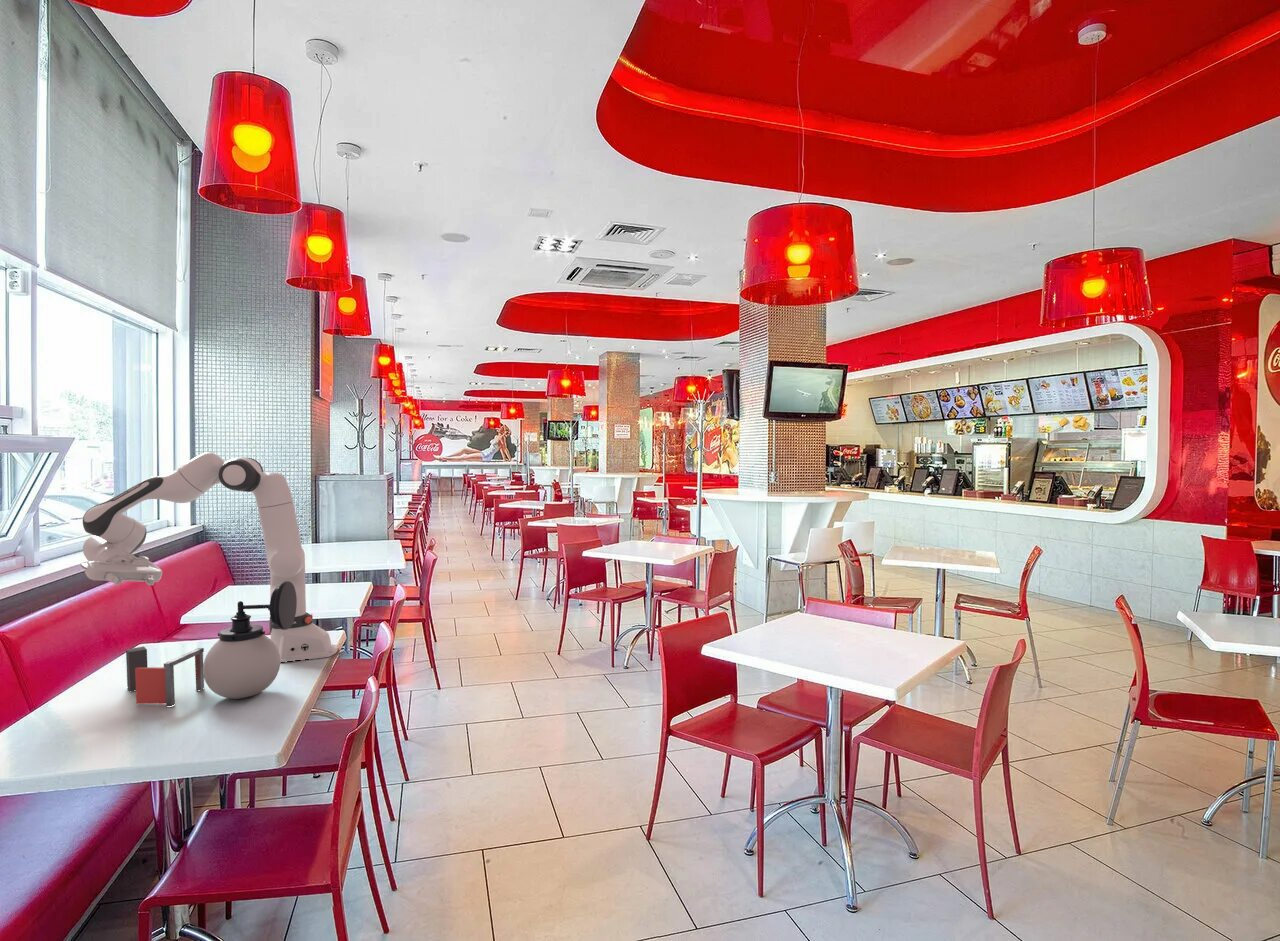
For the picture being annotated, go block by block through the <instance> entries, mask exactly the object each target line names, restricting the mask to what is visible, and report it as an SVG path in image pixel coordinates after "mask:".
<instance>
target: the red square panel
mask: <svg viewBox="0 0 1280 941" xmlns="http://www.w3.org/2000/svg"><path fill="white" fill-rule="evenodd" d="M135 679H136V691H135V700H136V704H137V705H138V704H140V705H141V704H143V705H145V704H146V705H147V704H152V705H155V704H159V705H160V704H163V705H164V704H166V690H165V668H164V666H162V667H161V666H160V667H158V666H157V667H156V666H155V667H154V666H153V667H152V666H151V667H148V666H147V667H138V668H135Z"/></svg>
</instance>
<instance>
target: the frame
mask: <svg viewBox="0 0 1280 941" xmlns="http://www.w3.org/2000/svg"><path fill="white" fill-rule="evenodd" d="M204 652H205V648H204V647H197V648H195V649H193V650H191V651H188V652H187V653H184V654H182V655H180V656H178V657H175V658H173V659H170V660H169V661H166V662H165V663H163V667H164V668H165V690H166V703H165V707H166V706H172V705H174V704H175V705H176V703H175V700H176V699H175V698H176V697H175V694H176V693H175V672H174V666H176V665H178V664H181V663H184V662H185V661H187V660H189V659H191V658H193V657H194V668H195V669H194V670H195V691H196V690H202V689H203V688H204V689H205V679H204V675H203V664H204ZM202 691H203V690H202Z"/></svg>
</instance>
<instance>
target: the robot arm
mask: <svg viewBox="0 0 1280 941" xmlns="http://www.w3.org/2000/svg"><path fill="white" fill-rule="evenodd" d="M219 483H221V485H222V486H224V487H225V488H226V489H228V490H231V491H234V492H235V491H237V492H246V493H252V494H253V495H254V498H255V501H256V506H257V510H258V516H259V520H260V525H261V529H262V537H263V542H264V548H265V550H264V551H265V556H266V560H267V565H268V569H269V571H270V572H269V573H270V575H269V576H270V582H269V583H270V589H269V597H270V598H269V600H270V599H271V595H272V593H273V591H274V590H275V588H276V587H277V586H280V585H281V584H282V583H283V582H285V581H289V582H291V583H292V584H293V585H294V588H295V591H296V597H297V607H296V614H295V618H294V621H293V624H292V626H291V627H290V628H289V629H287V630H282V629H280V628H279V627H278V626H276V625H274V623H273V622H272V620H271V617H270V616H269V619H268V625H269V626H268V627H269V633H270V636H269V637H270V638H269V639H270V640H272V641H273V643H274V644H275V645H276V647H277V649H278V651H279V654H280V663H281V662H285V663H287V662H286V661H293V662H296V661H295V660H301V661H306V660H305V659H309V660H317V659H323V658H329V657H332V656H333V655H335V654H336V653H337V652H338V650H339V647H338V645H337V644H335V643H333V644H332V641H331V636H330V634H329V632H328V631H326V630H325V629H323V628H321V627H320V626H318V625H316V624H314V623H313V621H314V620H313V616H314V615H313V613H311V614H310V613H308V612H307V601H306V597H307V596H306V556H305V550H304V549H303V546H302V542H301V535H300V531H299V525H298V524H299V523H298V520H297V519H298V518H297V515H296V510H295V509H296V508H295V506H294V500H293V497H292V493H291V488H290V487H289V483H288V482H287V479H286V477H285V476H284V475H283V474H281V473H278V472H264V468H263V466H262V464H261V463H260V462H259V461H257V460H256V459H254V458H250V457H242V456H238V457H235V458H230V459H228V460H224V459H222V457H220V455H218V454H216V453H214V452H210V451H207V452H203V453H200V454H199V455H197V456H195V457H193V458H192V459H190V460H188V461H186V462H185V463H183V464H182V465H181V466H180V467H178V468H177V469H176V470H174V471H172V472H169V473H167V474H164V475H163V474H162V475H154V476H150V477H148V478H145V479H144V480H142V481H140V482H138V483H137V484H135V485H132V486H131V487H130V488H127V489H126V490H125V491H122V492H121V493H119V494H117V495H116V496H115V495H114V496H113V497H112V498H110V499H107V500H106V501H104V502H103V501H102V502H101V503H98V504H95V505H94V506H92V507H91V508H89V509H88V510H86V512H85V513H84V514H83V517H82V526H83V529H84V531H85V532H86V533H87V534H90V535H92V536H89V537H88V538H87V539H85V541H84V543H83V546H82V553H83V556H84V557H85V558H86V560H87V561H86V562H83V563H81V564H80V567H81V568H82V569H83V570H84V574H85V575H86V577H87V579H89V580H92V581H104V582H105V581H107V582H109V583H113V584H114V585H121V584H122V582H143V583H144V582H145V584H146V585H148V586H154V584H155V583H158V582H159V581H160V580H161V578H162V576H163V570H162V569H161V568H160V567H159V566H158V565H156V564H155V563H154V562H152V561H150V558H149V557H148V556H146V555H145V556H144V555H138V554H134V552H136V551H138V549H140V548H141V547H142V545H143V544H144V542H145V541H146V539H147V528H146V525H145V524H143V523H142V522H140V521H138V520H136V519H135V518H133V517H130V516H128V515H127V514H125V512H126V511H128V510H129V509H131V508H133V507H135V506H137V505H138V504H140V503H142V502H144V501H147V500H162V501H168V502H171V503H175V504H176V503H177V504H188V503H190V502H193V501H195V500H197V499H198V498H200V497H201V496H202V495H205V493H206V492H208V491H209V490H210V489H211V488H212V487H214V486H215V485H217V484H219Z"/></svg>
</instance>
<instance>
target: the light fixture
mask: <svg viewBox="0 0 1280 941" xmlns="http://www.w3.org/2000/svg"><path fill="white" fill-rule="evenodd" d="M296 607H297V597H296V591H295V588H294V585H293V584H292V583H291V582H289V581H285V582H283V583H282V584H281V585H280V586H277V587H276V588H275V590H274V591H273V593H272V595H271V599H270V598H269V604H246V605H245V604H244V602H243V601H241V600H240V601H238V602H237V611H236V613H235V615H233V616H231V617H230V620H231V626H230V627H226V628H224V629H221V630H220V631H219V632H218V633H217V637H218V639H219V640H217V641H216V642H215V643H214V644H213V646H212V647H210V649H209V650H208V652H207V654H206V656H205V658H204V659H203V675H204V682H205V684H206V686H208V688H209V689H210V690H211V691H212V692H213V693H214V694H216V695H218V696H220V697H223V698H227V699H233V700H234V699H235V700H237V699H238V700H239V699H245V698H249V697H253V696H255V695H257V694H259V693H260V694H261V693H262V692H263V691H265V690H266V689H267V688H269V687H270V686H271V685H272V684H273V682H274V681H275V680H276V678H277V676H278V674H279V671H280V668H281V662H280V654H279V651H278V649H277V647H276V645H275V644H274V643H273V641H272V640H270V638H269V637H268V636H266V635H265V634H266V631H265V630H264V627H263V626H262V625H261V624H251V621H250V620H251V618H252V615H250V614H247V613H246V610H256V609H257V610H258V609H259V610H261V609H267V610H268V611H269V618H270V617H271V620H272V622H273V623H274V625H276V626H278V627H279V628H280V629H282V630H287V629H289V628H290V627H291V626H292V624H293V621H294V618H295V614H296Z"/></svg>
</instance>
